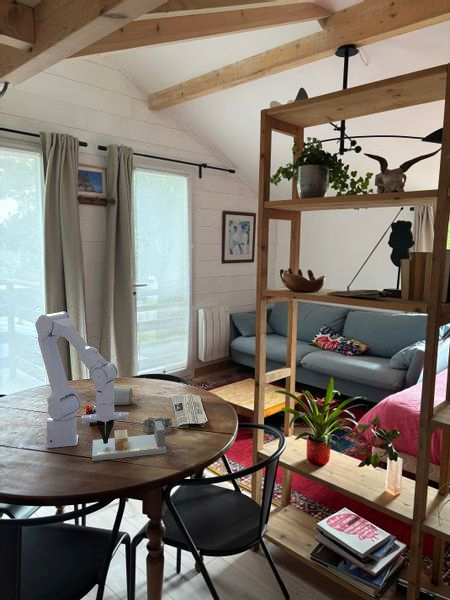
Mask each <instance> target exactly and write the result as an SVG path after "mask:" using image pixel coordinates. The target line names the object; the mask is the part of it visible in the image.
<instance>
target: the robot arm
mask: <svg viewBox="0 0 450 600" xmlns="http://www.w3.org/2000/svg"><path fill="white" fill-rule="evenodd" d="M34 324H35V325H34V326H35V330H36V333H37V341H38V345H39V349H40V352H41V357H42V360H43V363H44V366H45V370H46V375H47V378H48V381H49V386H50V389H51V392H50V394H49V396H48V397H47V399H46V400H47V412H48V415H49V417H48V418H47V420H46V449H53V448H65V447H72V446H73V447H75V446H78V442H79V434H77V415H78V411H79V410H80V409H81V406H82V402H81V401H82V400H81V398H80V397H79V396H78V394H77V392H76V389H75V388H73V387H71V386H69V385H70V384H69V381H68V378H67V374H66V370H65V369H64V368H65V367H64V363H63V360H62V356H61V354H60V350H59V347H58V342H57V341H58V340H59V338H60V337H63V338H65V339H66V341H68V343H70V345H72V347H73V348H74V350H75V349H76V351H77V352H78V353H79V356H78V357H79V360H80V361H81V362H82V364H83V365H84V366H85V367H86V368H87V369H88V370H89V372H90V373H91V375H90V376H91V380H92V383H93V384H94V389H95V413H92V414H86V415H81V424H82V425H83V424H87V423H96V426H97V429H98V431H99V433H100V435H101V439H103V444H107V443H108V439H110V435H111V432H112V430H113V428H114V425H115V421H120V420H121V421H124V420H125V421H128V420H129V411H126V412H125V411H121V412H119V411H115V405H114V386H115V380H116V379H117V377H118V376H119V375H118V374H119V373H118V371H119V370H118V368H117V366H116V365H115V364H114V363H112V362H109V361H108V360H106V359H105V358H104V357H103V356H102V355H101V354H100V352H99V350H98V348H96V347H94V346H89V345H88V344H87V342H86V341H85V339H84V338H83V337H82V335H81V334H80V333H79V330H77V328H76V327H75V325H74V320H73V318H72V317H70V315H69V313H67V312H66V311H59V312H54V313H49V314H48V313H47V314H41V315H39V317H38V318H37V320H36V321H35V323H34Z"/></svg>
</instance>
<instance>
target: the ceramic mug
mask: <svg viewBox="0 0 450 600" xmlns="http://www.w3.org/2000/svg"><path fill="white" fill-rule="evenodd" d="M133 392H134V391H133V388H132V387H127V386H115V385H114V406H128V405H132V402H133Z"/></svg>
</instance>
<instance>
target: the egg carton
mask: <svg viewBox="0 0 450 600" xmlns="http://www.w3.org/2000/svg"><path fill="white" fill-rule="evenodd" d="M154 421H162V424H163V427H164V429H165V433H167V434H168V433H169V432H172V428H173V416H170V417H162V416H161V417H151V416H150V417H147V418H145V419H144V421H143V422H142V431H143V432H144V433H146V434H147V433H154Z"/></svg>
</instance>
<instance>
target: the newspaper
mask: <svg viewBox="0 0 450 600" xmlns="http://www.w3.org/2000/svg"><path fill="white" fill-rule="evenodd" d="M171 402H172V406H173V410H174V411H175V412H174V415H175V416H174V417H175V420H176V424H177V428H178V429H185V428H189V427H188V425H189V424H196V425H197V424H198V425H199V426H200V427H201V428H204V427H205V426H206V425H207V424H206V422H208V421H209V420H208V418H207V415H206V412H205V410H204V406H203V403H202V400H201V396H200V395H197V394H193V393H182V394H180V393H179V394H174V395H172V396H171Z"/></svg>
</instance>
